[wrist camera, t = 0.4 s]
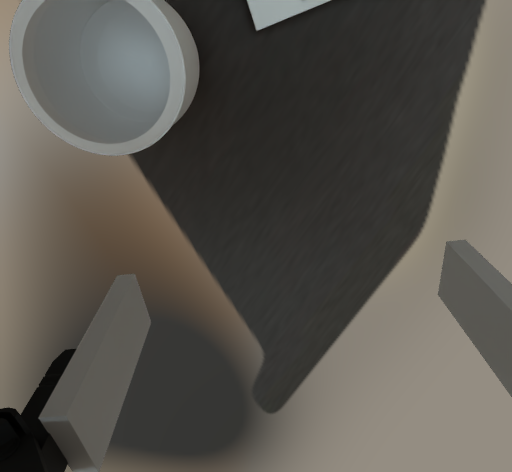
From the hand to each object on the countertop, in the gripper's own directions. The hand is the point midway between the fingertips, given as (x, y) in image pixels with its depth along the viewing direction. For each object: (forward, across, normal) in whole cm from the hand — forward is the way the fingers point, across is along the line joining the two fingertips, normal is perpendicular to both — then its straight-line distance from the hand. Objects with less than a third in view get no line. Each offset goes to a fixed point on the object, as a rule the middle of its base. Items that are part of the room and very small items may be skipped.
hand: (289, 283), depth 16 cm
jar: (+27, -10, +8) cm, 30 cm away
